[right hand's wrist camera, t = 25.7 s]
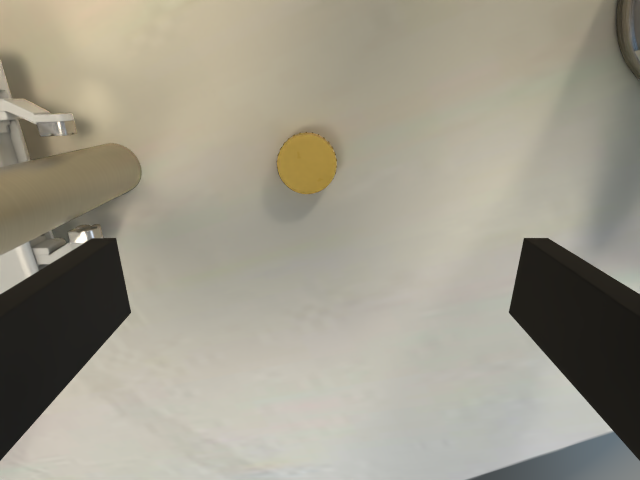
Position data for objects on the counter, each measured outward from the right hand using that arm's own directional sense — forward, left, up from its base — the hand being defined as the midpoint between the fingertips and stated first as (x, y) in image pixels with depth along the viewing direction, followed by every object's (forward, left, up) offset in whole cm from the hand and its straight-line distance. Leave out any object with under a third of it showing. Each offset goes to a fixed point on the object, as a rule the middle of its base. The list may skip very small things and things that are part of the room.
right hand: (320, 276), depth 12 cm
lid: (0, -1, -22) cm, 22 cm away
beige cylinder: (+9, -16, -24) cm, 30 cm away
